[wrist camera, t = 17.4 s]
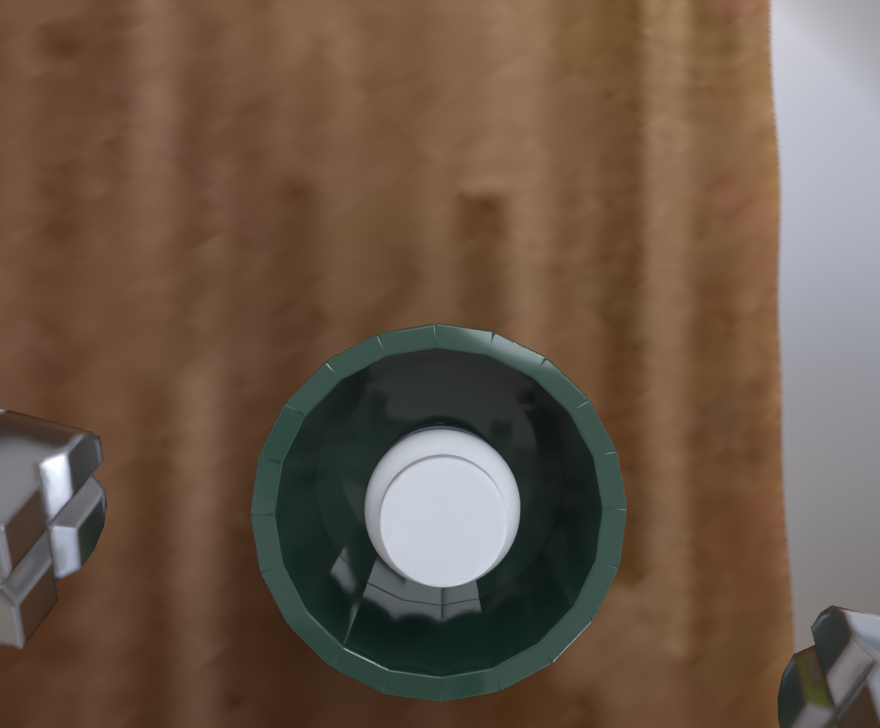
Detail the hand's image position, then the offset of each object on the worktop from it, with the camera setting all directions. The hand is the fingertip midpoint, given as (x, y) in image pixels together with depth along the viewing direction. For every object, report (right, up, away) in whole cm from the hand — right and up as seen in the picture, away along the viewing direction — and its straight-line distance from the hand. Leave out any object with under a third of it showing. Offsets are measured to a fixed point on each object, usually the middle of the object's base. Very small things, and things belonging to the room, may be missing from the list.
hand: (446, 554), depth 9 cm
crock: (0, -3, +26) cm, 26 cm away
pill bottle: (0, -3, +25) cm, 26 cm away
